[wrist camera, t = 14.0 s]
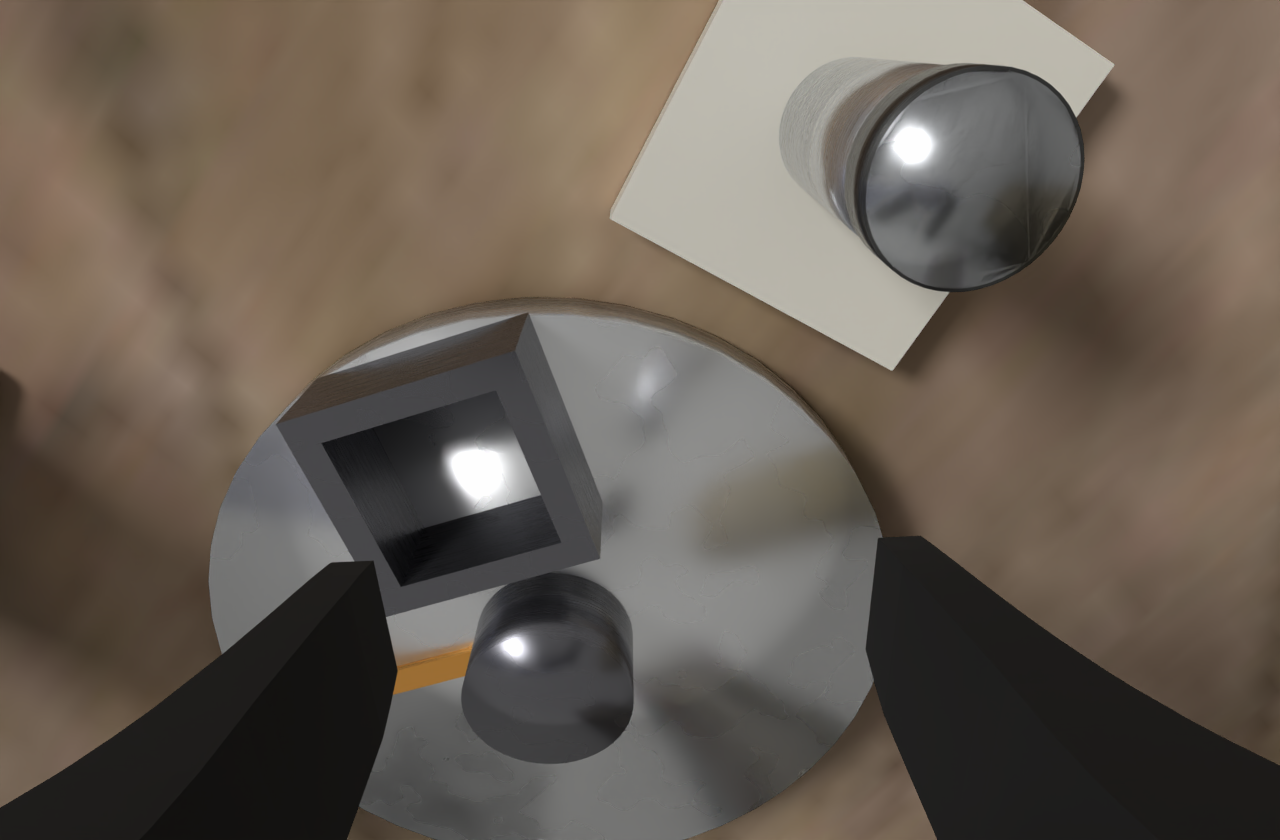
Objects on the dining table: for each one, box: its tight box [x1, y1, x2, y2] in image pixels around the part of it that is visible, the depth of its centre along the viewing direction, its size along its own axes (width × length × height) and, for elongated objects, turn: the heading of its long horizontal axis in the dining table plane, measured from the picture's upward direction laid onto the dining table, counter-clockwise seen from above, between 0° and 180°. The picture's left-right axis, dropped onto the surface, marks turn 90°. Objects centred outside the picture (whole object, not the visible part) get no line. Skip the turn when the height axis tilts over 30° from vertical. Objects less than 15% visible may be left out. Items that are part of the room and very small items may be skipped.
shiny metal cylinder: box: [779, 57, 1084, 292], centre depth 14 cm, size 3×3×7 cm
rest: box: [610, 0, 1115, 371], centre depth 18 cm, size 8×8×1 cm
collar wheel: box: [209, 297, 883, 840], centre depth 22 cm, size 19×19×4 cm
